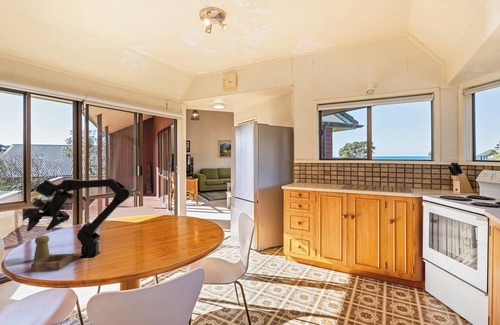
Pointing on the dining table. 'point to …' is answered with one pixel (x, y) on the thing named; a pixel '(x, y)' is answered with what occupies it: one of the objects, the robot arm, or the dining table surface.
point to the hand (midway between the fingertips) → (37, 230)
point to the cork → (41, 247)
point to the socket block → (52, 262)
